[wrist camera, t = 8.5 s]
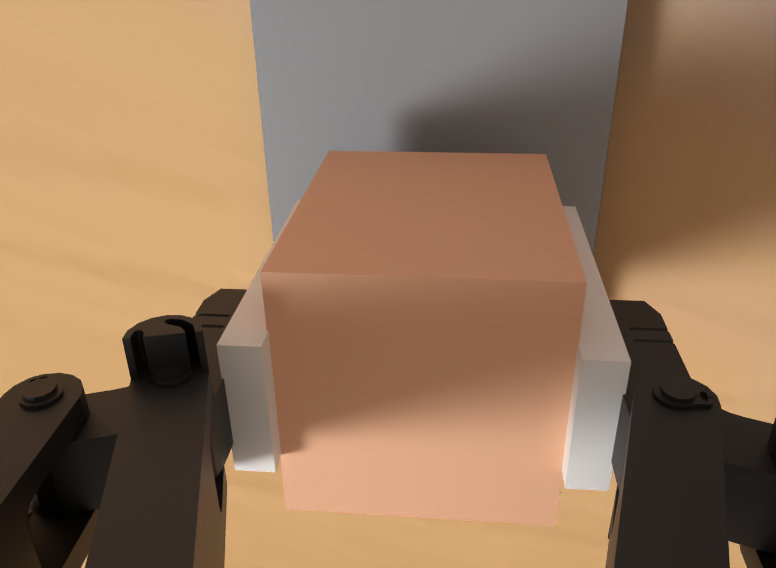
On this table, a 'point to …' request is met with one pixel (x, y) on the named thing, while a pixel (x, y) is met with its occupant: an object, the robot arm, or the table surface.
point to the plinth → (438, 85)
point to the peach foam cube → (425, 337)
